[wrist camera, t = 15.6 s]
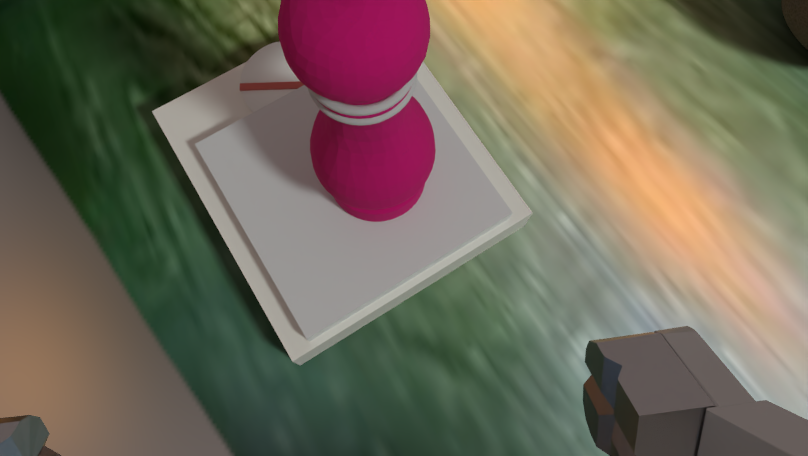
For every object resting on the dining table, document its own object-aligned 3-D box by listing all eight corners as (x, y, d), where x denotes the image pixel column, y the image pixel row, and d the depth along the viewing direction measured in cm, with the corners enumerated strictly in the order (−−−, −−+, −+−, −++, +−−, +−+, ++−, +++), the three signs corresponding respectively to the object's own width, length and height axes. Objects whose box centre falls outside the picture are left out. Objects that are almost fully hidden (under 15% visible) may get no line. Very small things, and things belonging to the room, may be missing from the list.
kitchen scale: (524, 226, 43) (536, 207, 39) (300, 365, 40) (288, 360, 36) (374, 17, 48) (372, -19, 44) (166, 128, 45) (143, 100, 41)
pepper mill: (431, 232, 38) (448, 51, 19) (316, 227, 38) (219, 42, 19) (435, 128, 40) (455, -131, 21) (326, 123, 40) (248, -136, 21)
